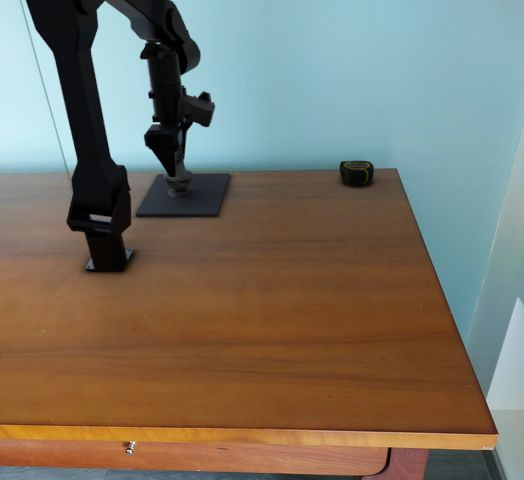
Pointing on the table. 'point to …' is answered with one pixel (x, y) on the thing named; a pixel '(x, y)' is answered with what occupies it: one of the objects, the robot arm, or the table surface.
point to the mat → (186, 198)
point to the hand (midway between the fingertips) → (177, 167)
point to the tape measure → (356, 172)
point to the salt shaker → (179, 178)
